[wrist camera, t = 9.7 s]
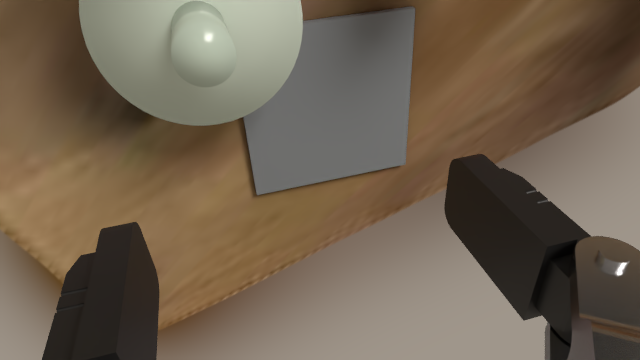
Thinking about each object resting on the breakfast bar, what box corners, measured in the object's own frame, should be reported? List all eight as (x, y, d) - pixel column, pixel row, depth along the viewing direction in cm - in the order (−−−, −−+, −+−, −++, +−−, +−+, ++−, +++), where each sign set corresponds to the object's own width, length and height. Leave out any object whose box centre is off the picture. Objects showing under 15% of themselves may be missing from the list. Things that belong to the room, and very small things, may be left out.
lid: (288, -108, 23) (318, -105, 19) (306, 101, 30) (332, 143, 26) (43, -87, 21) (6, -77, 16) (122, 134, 28) (113, 186, 23)
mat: (411, 6, 34) (415, 8, 33) (402, 161, 42) (405, 164, 41) (228, 31, 31) (229, 33, 31) (255, 191, 39) (256, 195, 39)
